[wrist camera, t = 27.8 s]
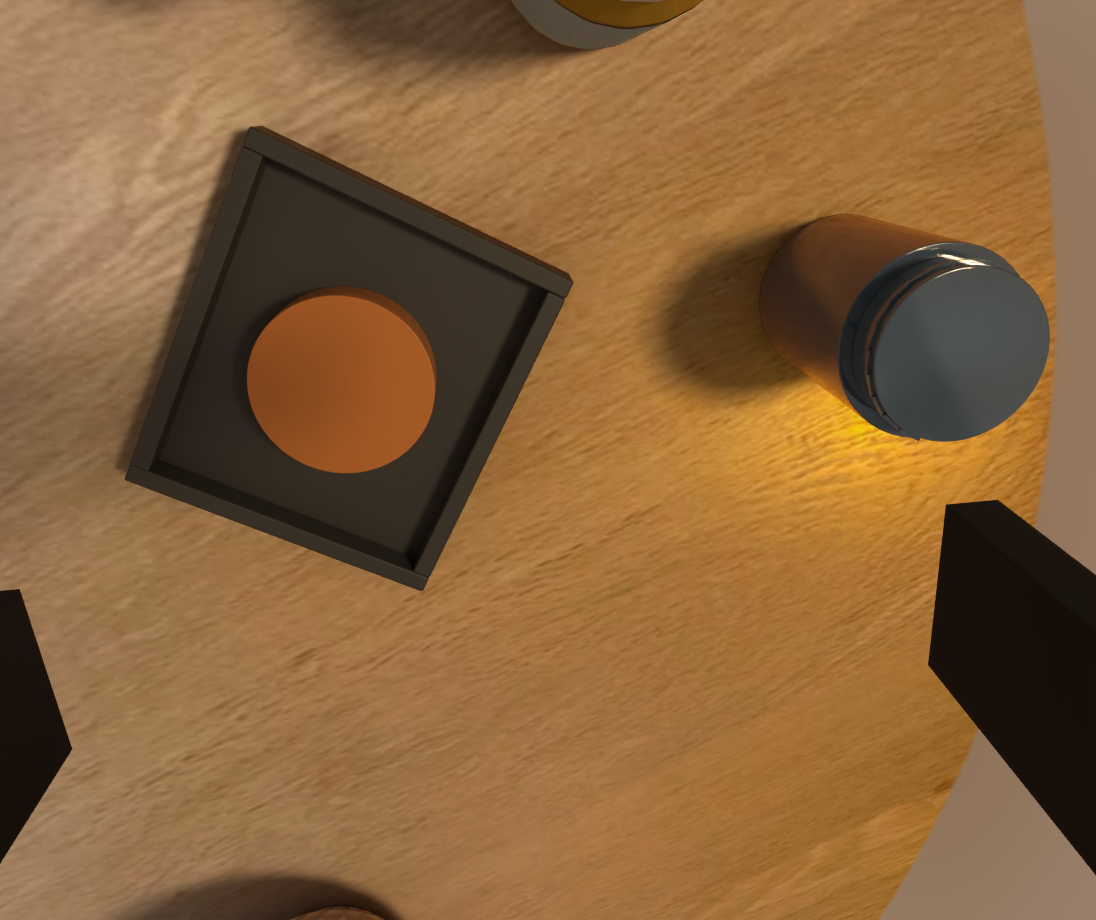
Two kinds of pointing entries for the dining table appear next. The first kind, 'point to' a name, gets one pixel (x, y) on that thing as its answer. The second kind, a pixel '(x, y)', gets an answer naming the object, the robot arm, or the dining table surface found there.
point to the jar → (906, 325)
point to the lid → (342, 380)
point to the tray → (356, 261)
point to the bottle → (598, 19)
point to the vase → (339, 914)
